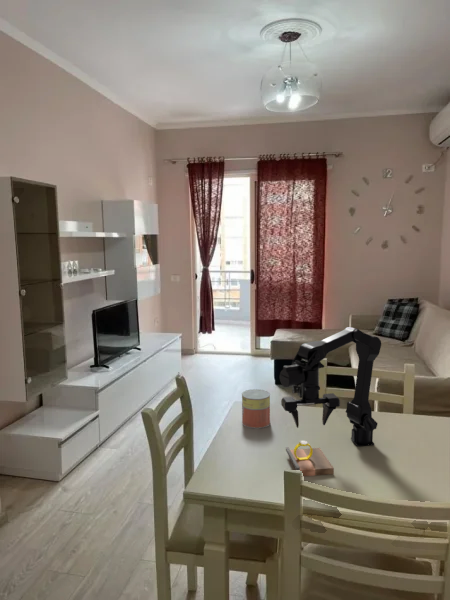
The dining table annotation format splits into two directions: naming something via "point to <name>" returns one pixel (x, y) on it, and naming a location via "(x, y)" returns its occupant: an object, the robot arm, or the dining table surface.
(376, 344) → the robot arm
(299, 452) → the copper slab
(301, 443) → the watch
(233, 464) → the dining table surface
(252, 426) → the canned food
